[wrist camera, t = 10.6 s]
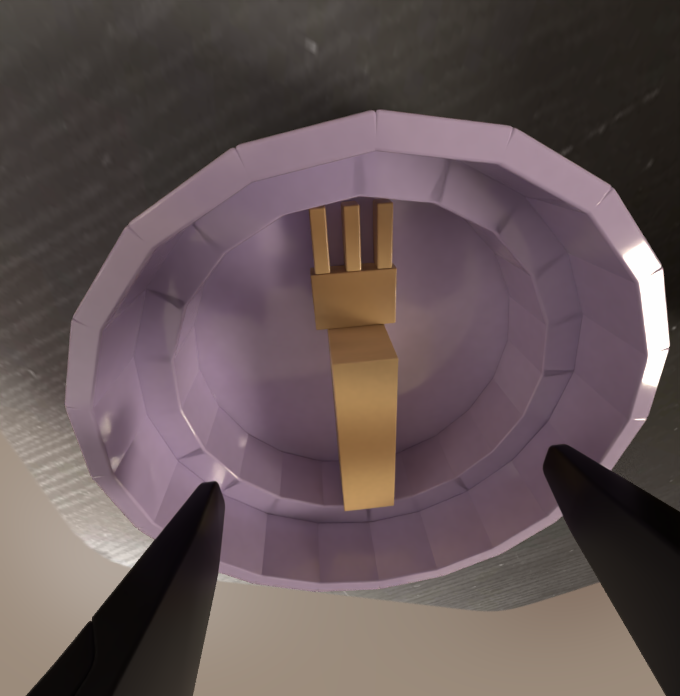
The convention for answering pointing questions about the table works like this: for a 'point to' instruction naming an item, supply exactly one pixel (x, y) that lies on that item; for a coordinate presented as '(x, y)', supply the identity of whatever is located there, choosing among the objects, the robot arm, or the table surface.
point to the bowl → (405, 334)
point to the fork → (360, 350)
